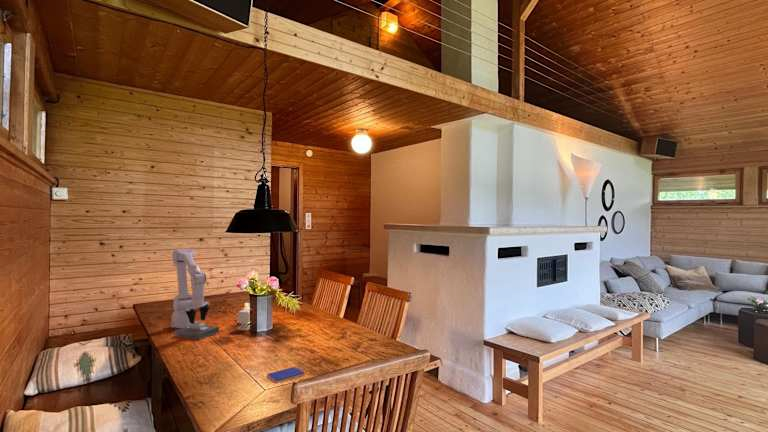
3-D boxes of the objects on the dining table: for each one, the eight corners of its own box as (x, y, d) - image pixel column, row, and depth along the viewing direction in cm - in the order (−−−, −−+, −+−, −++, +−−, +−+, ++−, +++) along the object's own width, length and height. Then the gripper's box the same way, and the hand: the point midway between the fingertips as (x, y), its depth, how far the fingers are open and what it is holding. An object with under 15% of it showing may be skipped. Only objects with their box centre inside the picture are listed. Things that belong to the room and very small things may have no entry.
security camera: (252, 327, 226) (253, 309, 226) (247, 330, 219) (247, 312, 219) (242, 326, 227) (242, 309, 227) (236, 329, 220) (236, 312, 220)
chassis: (174, 336, 206) (175, 330, 206) (195, 329, 219) (195, 323, 219) (199, 339, 201) (199, 334, 201) (218, 332, 214) (218, 326, 214)
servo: (208, 333, 211) (208, 322, 211) (202, 335, 207) (203, 323, 207) (191, 330, 214) (192, 319, 214) (186, 333, 210) (186, 321, 210)
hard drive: (294, 366, 166) (267, 373, 158) (304, 372, 160) (276, 380, 152) (294, 369, 166) (266, 377, 158) (304, 376, 160) (275, 384, 152)
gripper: (193, 299, 202) (192, 325, 202) (213, 294, 216) (213, 319, 216) (182, 298, 204) (182, 324, 204) (203, 293, 218) (203, 317, 218)
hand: (197, 321), depth 210 cm, fingers open, 7 cm apart
